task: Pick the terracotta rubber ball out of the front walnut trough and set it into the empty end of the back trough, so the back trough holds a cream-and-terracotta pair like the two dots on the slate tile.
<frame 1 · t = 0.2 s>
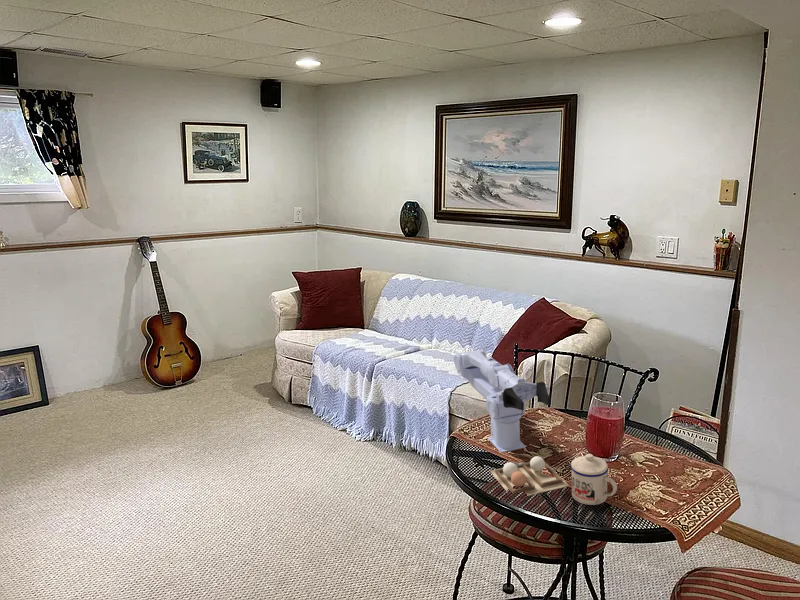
hand: (536, 404, 174), 21 cm above the table, tool horizontal, fingers open, 7 cm apart
teacup with lid: (594, 499, 168), on the table
ball cream front: (510, 476, 180), resting on trough board
trough board: (528, 479, 179), on the table
ball cream back: (537, 470, 182), resting on trough board
ball terracotta: (518, 485, 175), resting on trough board
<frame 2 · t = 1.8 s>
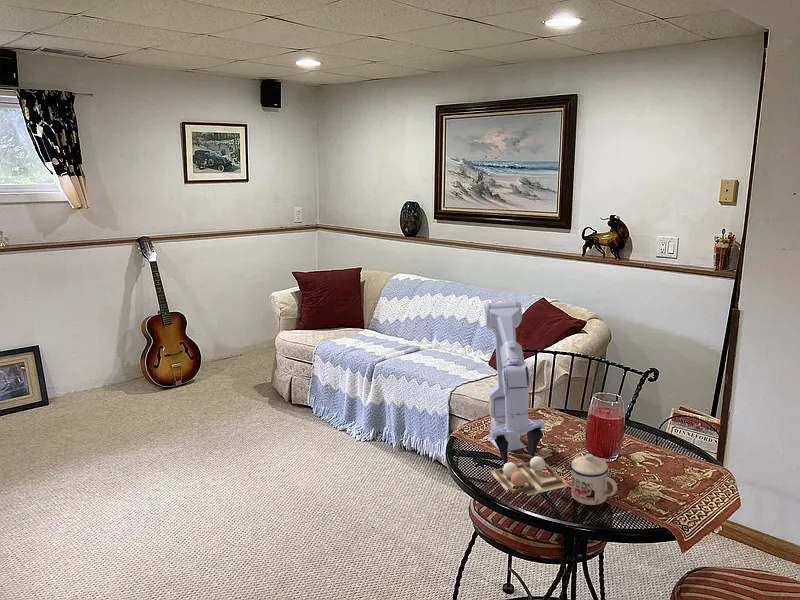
hand: (518, 458, 173), 9 cm above the table, tool pointing down, fingers open, 7 cm apart
nothing on the table moved.
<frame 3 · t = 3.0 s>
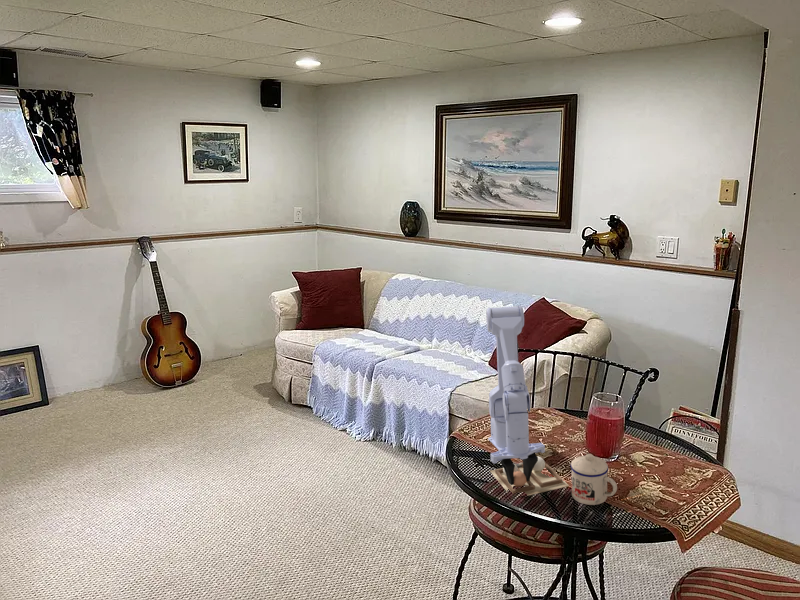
hand: (518, 481, 175), 2 cm above the table, tool pointing down, fingers closed on ball terracotta, 4 cm apart
ball terracotta: (518, 485, 175), resting on trough board, touching gripper
everything else where it was.
when the fingers open (3 cm above the table, at t = 5.8 s): ball terracotta drops 1 cm, resting on trough board.
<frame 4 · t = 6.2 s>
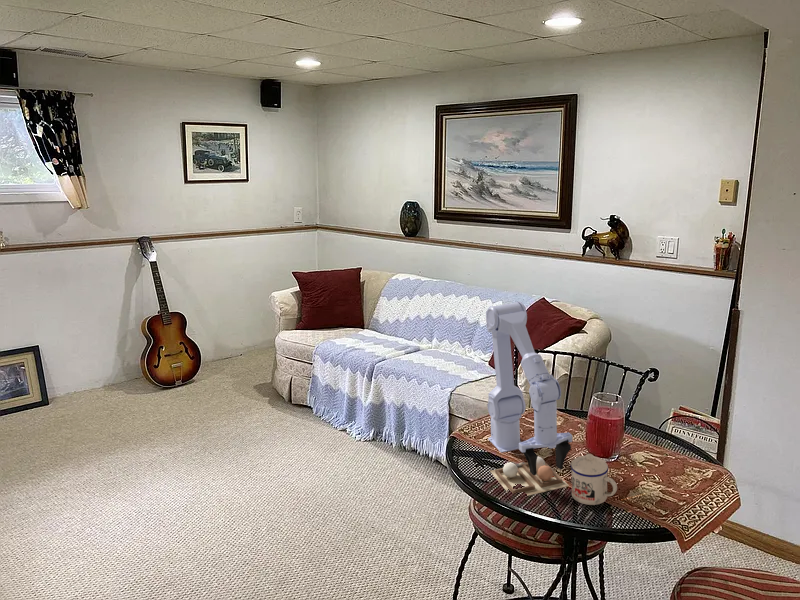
hand: (546, 470, 177), 3 cm above the table, tool pointing down, fingers open, 7 cm apart
ball terracotta: (546, 479, 177), resting on trough board, tilted 11°
everything else where it was.
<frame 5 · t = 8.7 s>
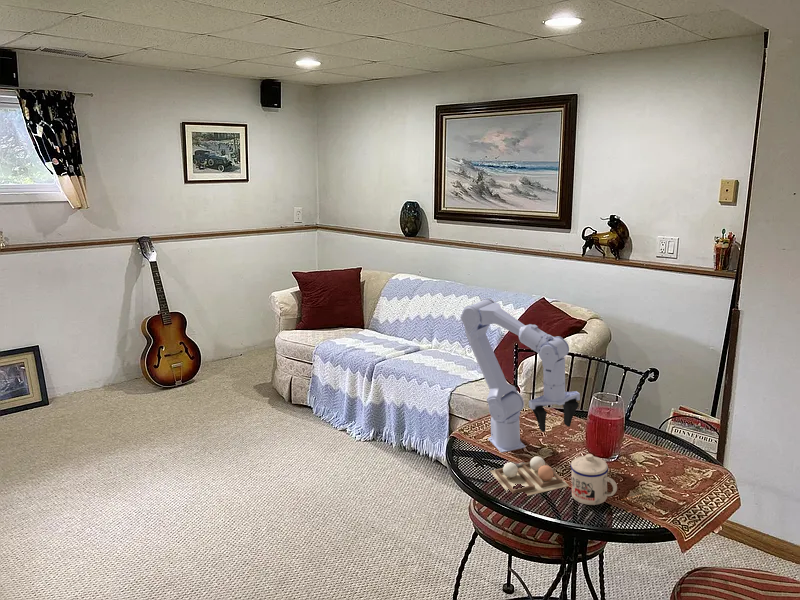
hand: (554, 427, 184), 10 cm above the table, tool pointing down, fingers open, 7 cm apart
nothing on the table moved.
at the end: ball terracotta 0.1 cm from the target spot, resting on trough board; ball cream back 0.0 cm from the target spot, resting on trough board; the gripper is holding nothing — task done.
